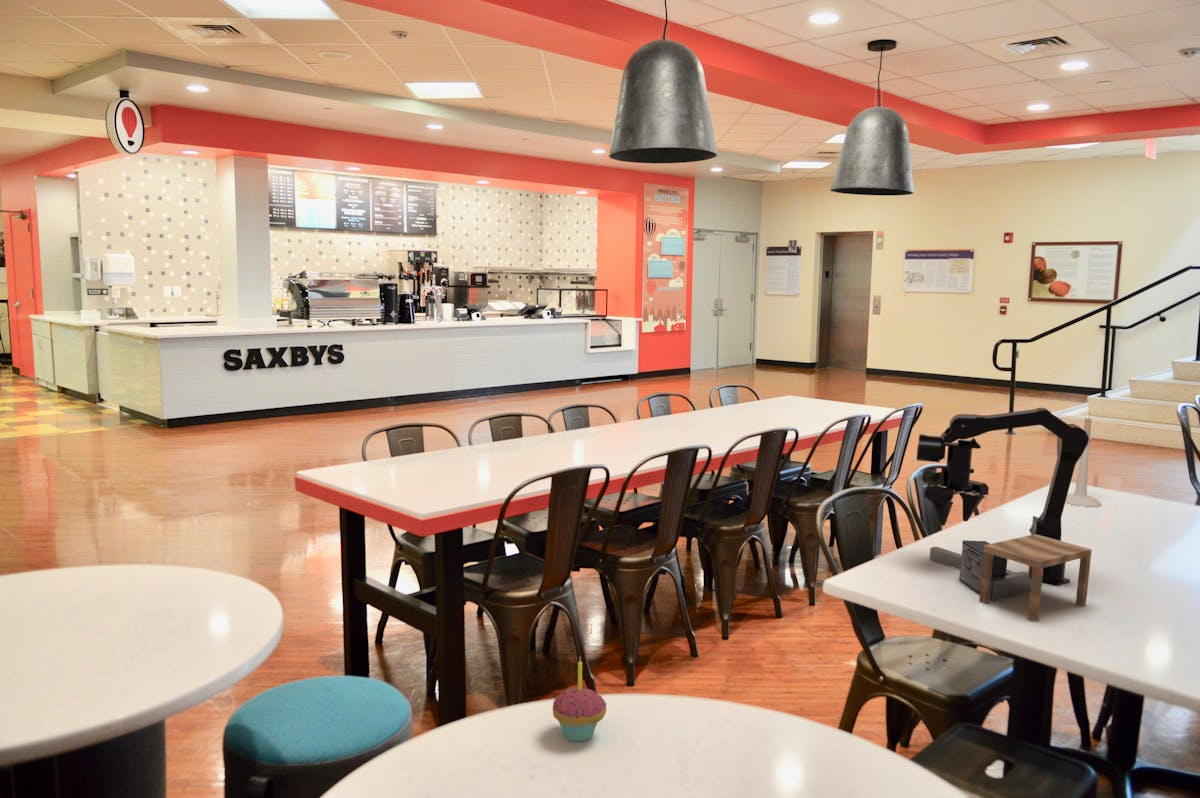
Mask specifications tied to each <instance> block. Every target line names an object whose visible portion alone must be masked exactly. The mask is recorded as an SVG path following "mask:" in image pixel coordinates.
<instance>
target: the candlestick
mask: <svg viewBox="0 0 1200 798" xmlns="http://www.w3.org/2000/svg"><path fill="white" fill-rule="evenodd" d="M1091 428H1092V418H1090V417H1088V418H1084V425H1083V430H1084V431H1086V433H1087V434H1088V437H1089V441H1088V444H1087V446H1086V448H1085V450H1084V452H1083V454H1082V456H1081V457H1080V458H1079V464H1078V465H1079V466H1078V472H1077V477H1076V484H1075V488H1074V490H1075V491H1074V493H1071V494H1070V493H1069V494H1067V498H1066V501H1065V503H1067V504H1066V505H1068V504H1071V505H1070V506H1072V505H1077V506H1076V507H1078V506H1085V507H1084V508H1088V507H1095V508H1099V507H1098V506H1100V507H1102V502H1100V501H1099V500H1098V499H1096V498H1095V497H1092V496H1089V495H1088V468H1089V467H1088V466H1089V446H1090V444H1091V440H1092V439H1093V438H1092V437H1091Z"/></svg>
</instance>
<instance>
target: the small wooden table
mask: <svg viewBox="0 0 1200 798" xmlns="http://www.w3.org/2000/svg"><path fill="white" fill-rule="evenodd" d="M1092 550H1093V549H1091V548H1087V547H1084V546H1080V545H1077V544H1072V543H1069V542H1067V541H1062V540H1061V541H1059V540H1055V539H1052V538H1048V537H1044V536H1041V535H1037V534H1034V535H1031V534H1030V535H1025V536H1021V537H1017V538H1012V539H1008V540H1006V539H1005V540H1002V541H997V542H992V543H990V544H988V545H984V552H983V564H982V575H981V587H980V595H979V600H978V601H979V603H982V604H985V605H986V604H989V603H990V601H989V598H990V586H991V575H992V564H993V555H996V556H999V557H1003V558H1006V559H1007V560H1009V561H1013V562H1016V563H1019V564H1023V565H1025V566H1028V571H1027V573H1029V577H1031V578H1032V580H1031V591H1030V592H1029V601H1028V602H1029V603H1028V612H1027V620H1029V621H1031V622H1034V621H1035V622H1038V621H1039V615H1040V606H1041V596H1042V586H1043V581H1042V577H1043V568H1045V567H1049V566H1052V565H1056V564H1060V563H1064V562H1066V563H1067V562H1072V561H1075V560H1079V559H1080V561H1079V567H1078V578H1077V588H1076V589H1077V590H1076V596H1075V597H1076V598H1075V606H1077V607H1081V608H1083V607H1086V605H1087V598H1088V586H1089V577H1090V568H1091V560H1092V559H1091V558H1092Z"/></svg>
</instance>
